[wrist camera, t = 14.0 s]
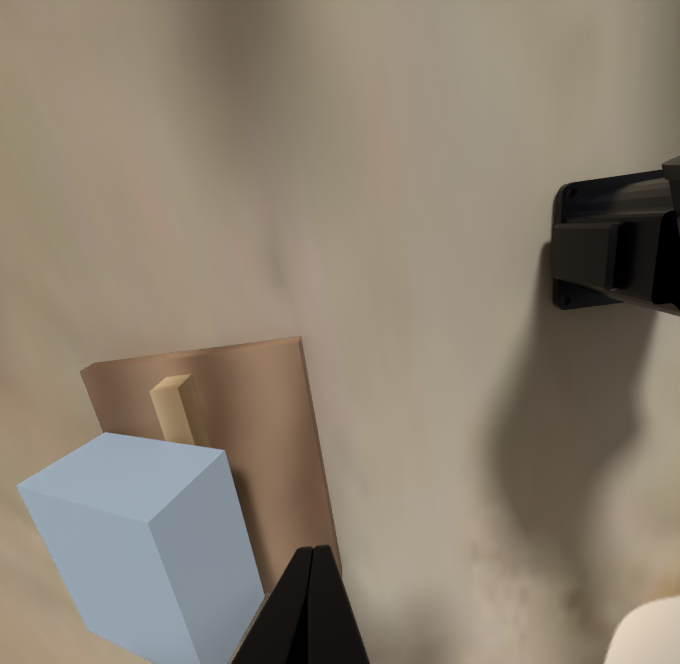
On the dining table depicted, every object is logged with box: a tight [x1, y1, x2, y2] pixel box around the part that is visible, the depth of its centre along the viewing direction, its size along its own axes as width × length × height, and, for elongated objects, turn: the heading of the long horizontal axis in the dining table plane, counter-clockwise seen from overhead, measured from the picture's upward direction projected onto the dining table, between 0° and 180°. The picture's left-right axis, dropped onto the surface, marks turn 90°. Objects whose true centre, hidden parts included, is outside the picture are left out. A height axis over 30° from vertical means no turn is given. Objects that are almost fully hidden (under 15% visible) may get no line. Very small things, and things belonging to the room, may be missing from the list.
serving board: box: [80, 337, 342, 593], centre depth 21 cm, size 12×18×3 cm
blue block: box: [16, 432, 265, 664], centre depth 18 cm, size 4×10×9 cm
